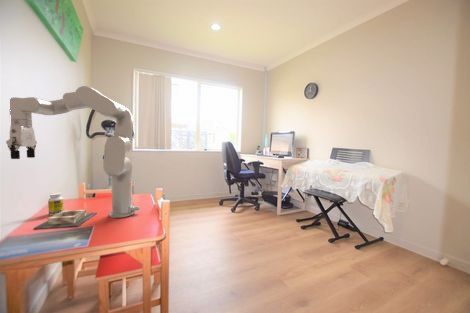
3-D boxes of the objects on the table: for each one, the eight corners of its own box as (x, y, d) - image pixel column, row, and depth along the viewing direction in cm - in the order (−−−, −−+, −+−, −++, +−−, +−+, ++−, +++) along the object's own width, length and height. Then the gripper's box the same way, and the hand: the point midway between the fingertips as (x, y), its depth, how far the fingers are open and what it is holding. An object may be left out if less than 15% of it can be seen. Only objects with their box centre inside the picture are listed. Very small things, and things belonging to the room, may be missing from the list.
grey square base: (96, 213, 114) (96, 207, 114) (78, 226, 97) (77, 219, 96) (59, 215, 111) (59, 209, 111) (33, 229, 93) (33, 221, 93)
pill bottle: (55, 215, 111) (53, 195, 110) (45, 215, 112) (44, 194, 111) (66, 212, 117) (65, 192, 116) (57, 211, 118) (56, 192, 117)
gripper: (16, 122, 95) (18, 159, 96) (42, 125, 112) (44, 157, 113) (-4, 121, 94) (-2, 159, 95) (26, 125, 111) (28, 157, 112)
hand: (23, 158), depth 104 cm, fingers open, 9 cm apart
